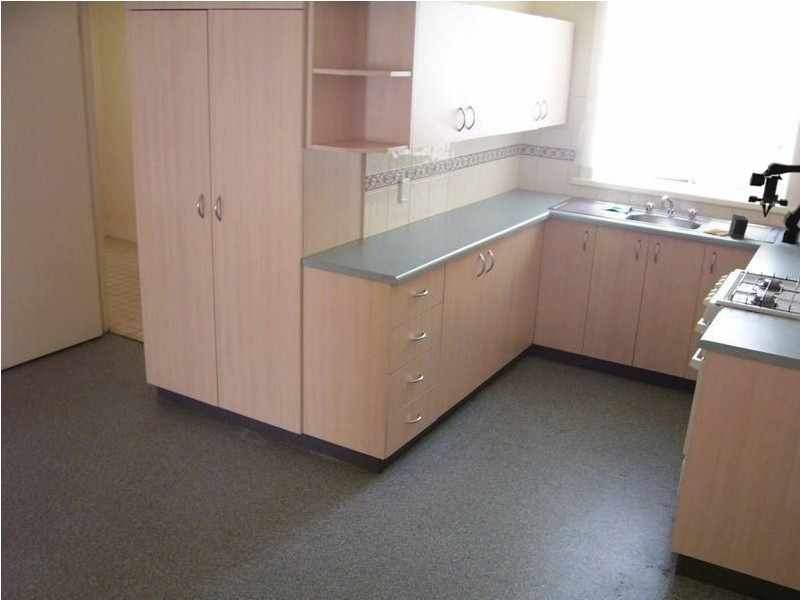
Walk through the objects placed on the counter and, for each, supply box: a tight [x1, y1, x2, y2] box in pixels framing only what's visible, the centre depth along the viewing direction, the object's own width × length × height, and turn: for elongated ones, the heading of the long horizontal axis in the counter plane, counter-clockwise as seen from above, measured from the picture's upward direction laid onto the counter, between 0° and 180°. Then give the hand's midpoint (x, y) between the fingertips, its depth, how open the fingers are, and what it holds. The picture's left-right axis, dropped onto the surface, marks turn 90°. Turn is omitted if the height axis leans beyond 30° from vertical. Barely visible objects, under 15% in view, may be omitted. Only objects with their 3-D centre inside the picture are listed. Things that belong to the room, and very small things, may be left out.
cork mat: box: [703, 228, 730, 237], centre depth 427 cm, size 11×13×1 cm
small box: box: [728, 214, 749, 240], centre depth 418 cm, size 11×6×10 cm, turn 169°
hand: (764, 217), depth 413 cm, fingers closed
